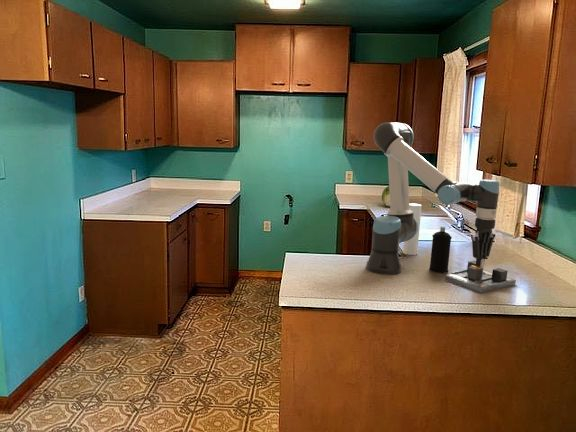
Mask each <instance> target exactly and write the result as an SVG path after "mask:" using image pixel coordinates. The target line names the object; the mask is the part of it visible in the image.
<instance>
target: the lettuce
mask: <svg viewBox="0 0 576 432" xmlns="http://www.w3.org/2000/svg"><path fill="white" fill-rule="evenodd" d="M381 201H382V203H383V205H384V206H385V207H389V208H390V190H389V185H388V186H387V187H385V188H384V189H383V191H382V193H381Z"/></svg>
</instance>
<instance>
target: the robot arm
mask: <svg viewBox="0 0 576 432" xmlns="http://www.w3.org/2000/svg"><path fill="white" fill-rule="evenodd" d="M372 137H373V142H374V144H375V146H376V147H377V148H378V149H380V150H381V151H382V152H383V153H384V155H385V156H386V157H387V166H388V167H387V169H388V171H387V172H388V186H389V190H390V207H389V208H390V209H389V210H388V212H387V214H386V215H381V216H378V217H376V218H375V219H374V221H373V225H372V237H371V238H372V239H371V250H370V251H371V252H370V254H369V257H368V260H367V261H366V267H365V268H366V270H367V271H369V272H372V273H374V274H380V275H397V274H400V273H401V272H402V264H401V261H400V255H399V250H400V249H399V248H400V244H401V243H404V242H405V241H408V240H410V239H411V238H413V237H414V236H415V235H416V233H417V230H418V224H417V221H416V220H415V219H414V217H413V211H412V210H410V206H409V203H410V191H409V190H410V187H409V185H410V184H409V172H410V173H411V174H412V175H413V176H415V177H416V178H417V179H418V180H420V181H421V183H423V184H424V185H425V186H427V187H428V188H429V189H430V190H431V191H433V193H435V194H436V195H437V198H438V199H437V200H439V202H440V203H441V204H444V205H455V204H457V203H461V202H473V203H476V209H475V218H474V219H475V220H474V227H475V228H476V230H475V234H474V235H471V236H470V239H471V244H472V257H473V258H475V259H476V260H475V261H476V266H477V267H480V268H483V270H485V269H484V267H485V262H486V261H485V260H488V257H489V256H490V254H491V251H492V250H491V249H492V247H493V243H494V240H495V238H496V233H494V232H493V230H494V229H495V227H496V218H497V209H498V202H499V195H500V182H499V181H498V180H495V179H481V180H480V181H479V182H478V183H472V182H463V181H452V180H451V179H449V178H448V177H447V176H446V175H445V174H443V173H442V172H441V171H440V170H439V169H437V168H436V167H435V166H434V165H433V164H431V163H430V162H429V161H427V160H426V159H425V158H424V157H423V156H422V155H421V154H419V153H418V152H417V151H415V150H414V149H413V148H412V147H411V146H412V144H413V143H414V138H415V134H414V131H413V129H412V128H411V127H410V125H408V124H406V123H403V122H388V121H387V122H382V123H380V124H379V125H377V127H376V128H375V129H374V131H373V136H372ZM482 274H483V272H482Z"/></svg>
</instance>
